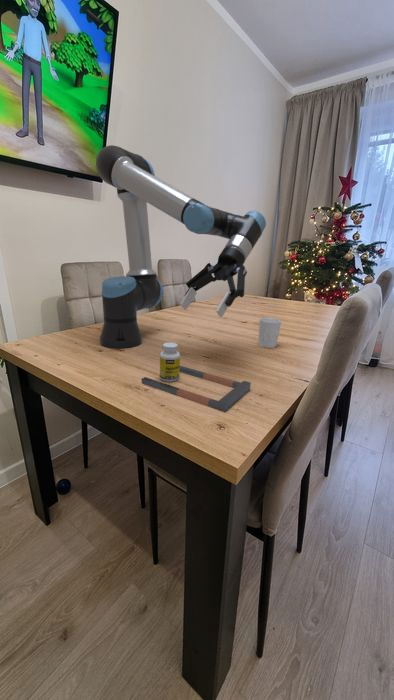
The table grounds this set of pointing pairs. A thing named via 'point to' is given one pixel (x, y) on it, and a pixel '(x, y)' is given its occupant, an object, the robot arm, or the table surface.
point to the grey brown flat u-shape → (222, 404)
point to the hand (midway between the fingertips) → (199, 310)
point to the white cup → (268, 332)
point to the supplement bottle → (169, 362)
